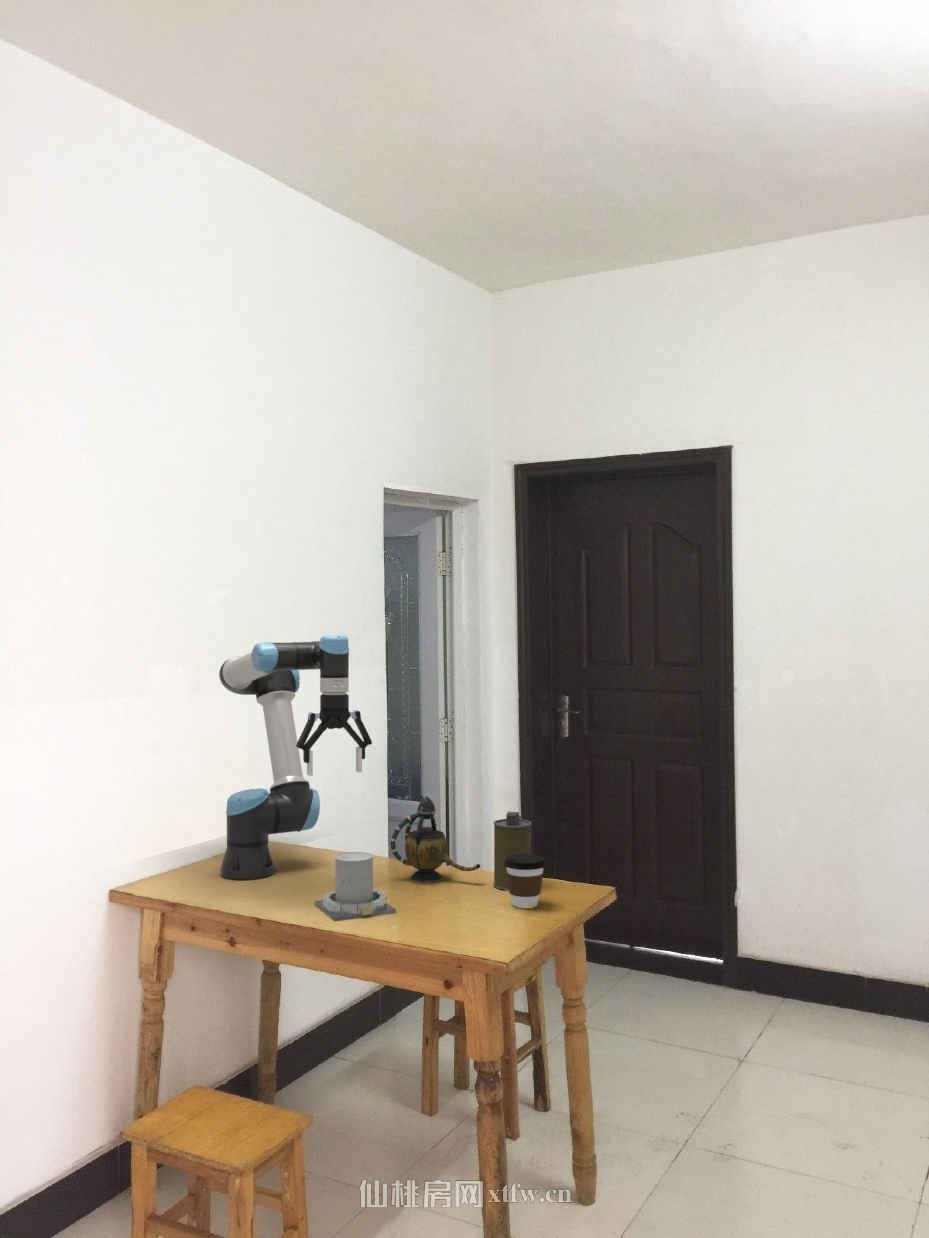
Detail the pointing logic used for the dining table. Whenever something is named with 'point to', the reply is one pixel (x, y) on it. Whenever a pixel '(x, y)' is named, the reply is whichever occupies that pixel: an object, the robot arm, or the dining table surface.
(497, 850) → the canister
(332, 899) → the socket
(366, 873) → the grey speckled cylinder
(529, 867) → the coffee cup
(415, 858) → the teapot
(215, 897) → the dining table surface
